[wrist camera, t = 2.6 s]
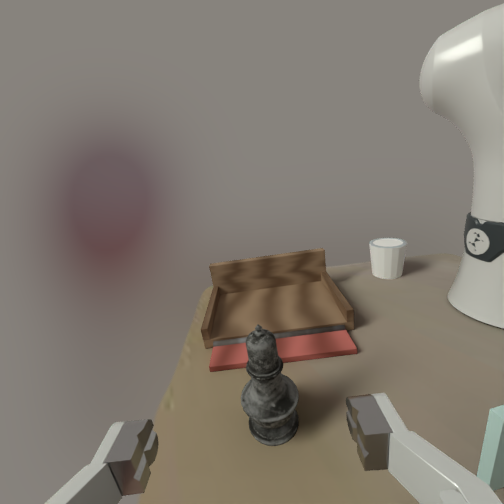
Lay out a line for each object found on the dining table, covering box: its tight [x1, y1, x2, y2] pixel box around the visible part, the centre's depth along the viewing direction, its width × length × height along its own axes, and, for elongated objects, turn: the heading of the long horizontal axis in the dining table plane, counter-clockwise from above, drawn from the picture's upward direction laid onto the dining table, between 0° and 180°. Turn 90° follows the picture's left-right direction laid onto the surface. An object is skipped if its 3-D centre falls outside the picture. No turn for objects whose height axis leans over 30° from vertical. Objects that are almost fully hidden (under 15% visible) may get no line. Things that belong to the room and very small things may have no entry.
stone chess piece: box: [241, 324, 298, 446], centre depth 25 cm, size 6×6×12 cm
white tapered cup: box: [369, 238, 407, 279], centre depth 54 cm, size 7×7×7 cm
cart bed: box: [201, 248, 357, 372], centre depth 43 cm, size 23×21×8 cm
